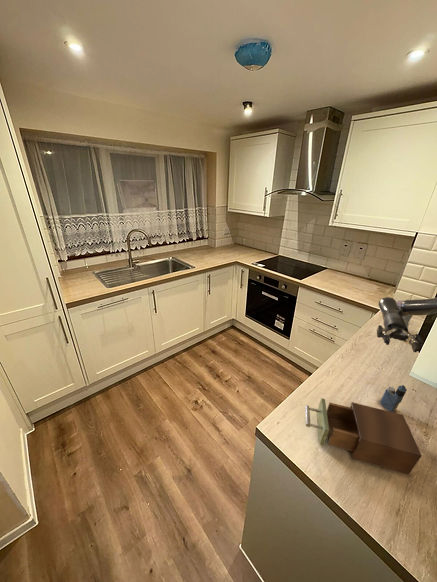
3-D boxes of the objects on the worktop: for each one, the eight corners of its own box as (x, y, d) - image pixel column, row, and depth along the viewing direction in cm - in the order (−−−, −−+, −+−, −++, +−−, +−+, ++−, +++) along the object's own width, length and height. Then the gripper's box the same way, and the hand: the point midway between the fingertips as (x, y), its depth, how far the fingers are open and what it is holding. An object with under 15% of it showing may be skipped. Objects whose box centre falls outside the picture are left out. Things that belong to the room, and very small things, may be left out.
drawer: (303, 439, 73) (308, 424, 70) (302, 409, 83) (306, 394, 80) (368, 458, 68) (376, 443, 65) (359, 423, 78) (365, 409, 75)
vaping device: (392, 414, 83) (405, 390, 78) (378, 402, 87) (389, 379, 82) (396, 412, 84) (409, 388, 79) (382, 400, 88) (393, 376, 83)
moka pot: (378, 329, 132) (391, 297, 123) (397, 324, 137) (410, 293, 129) (395, 338, 124) (410, 306, 115) (414, 333, 129) (429, 301, 121)
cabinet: (352, 458, 69) (361, 438, 65) (344, 420, 80) (351, 402, 76) (408, 475, 66) (422, 455, 62) (392, 433, 77) (402, 414, 73)
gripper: (378, 313, 100) (382, 332, 87) (418, 322, 95) (430, 344, 82) (372, 327, 104) (376, 348, 90) (411, 337, 98) (421, 361, 85)
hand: (401, 346), depth 86 cm, fingers open, 8 cm apart
